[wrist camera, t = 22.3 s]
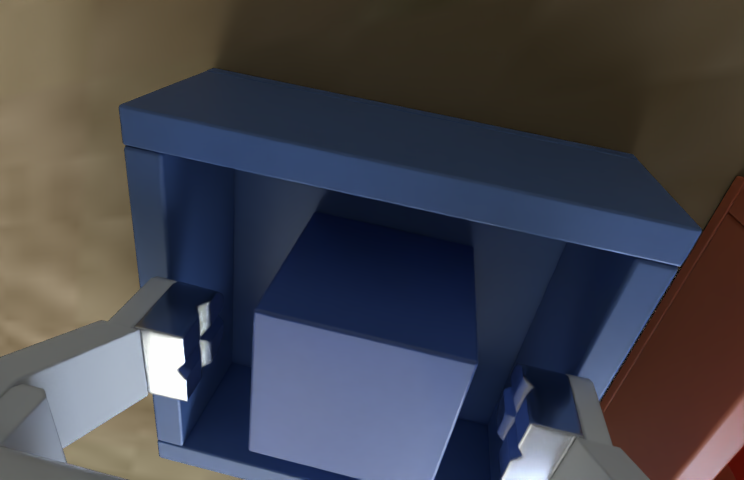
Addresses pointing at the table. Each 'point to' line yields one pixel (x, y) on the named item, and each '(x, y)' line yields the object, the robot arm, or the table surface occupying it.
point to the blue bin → (397, 211)
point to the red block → (738, 465)
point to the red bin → (689, 363)
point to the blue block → (364, 351)
